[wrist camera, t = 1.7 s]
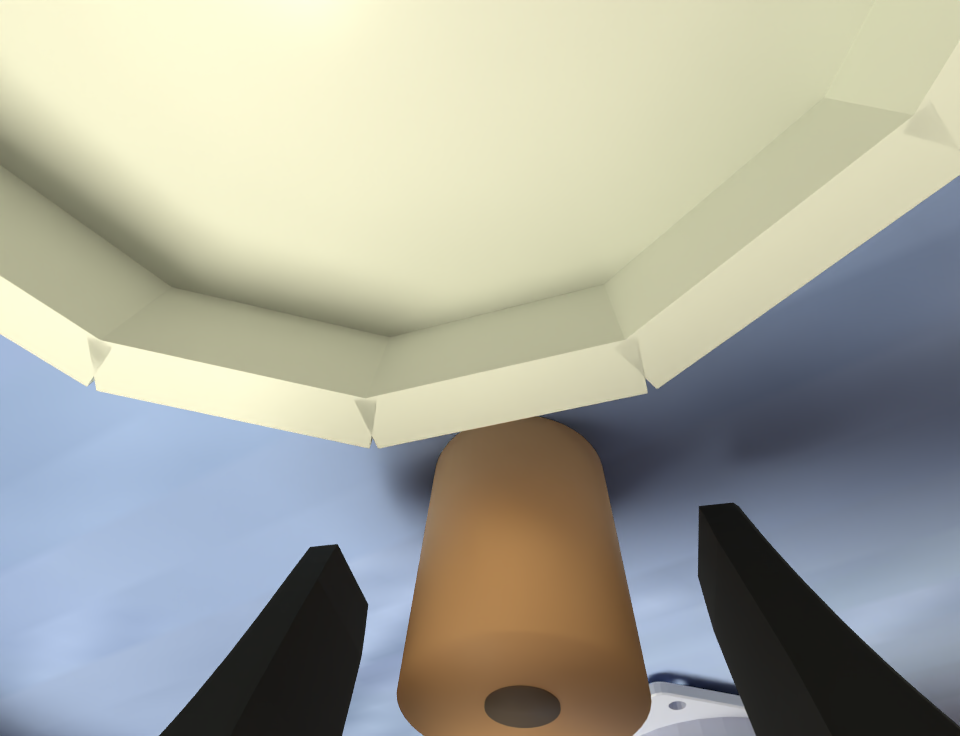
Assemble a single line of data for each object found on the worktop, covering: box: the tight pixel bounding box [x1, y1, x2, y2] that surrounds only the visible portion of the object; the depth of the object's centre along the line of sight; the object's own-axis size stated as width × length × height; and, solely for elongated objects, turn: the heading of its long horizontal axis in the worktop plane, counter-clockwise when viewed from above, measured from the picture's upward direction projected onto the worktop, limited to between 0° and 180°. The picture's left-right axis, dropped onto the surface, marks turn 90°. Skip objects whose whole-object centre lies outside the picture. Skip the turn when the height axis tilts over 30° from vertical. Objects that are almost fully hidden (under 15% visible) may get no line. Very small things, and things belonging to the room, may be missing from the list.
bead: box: [397, 416, 652, 736], centre depth 11 cm, size 4×4×5 cm
